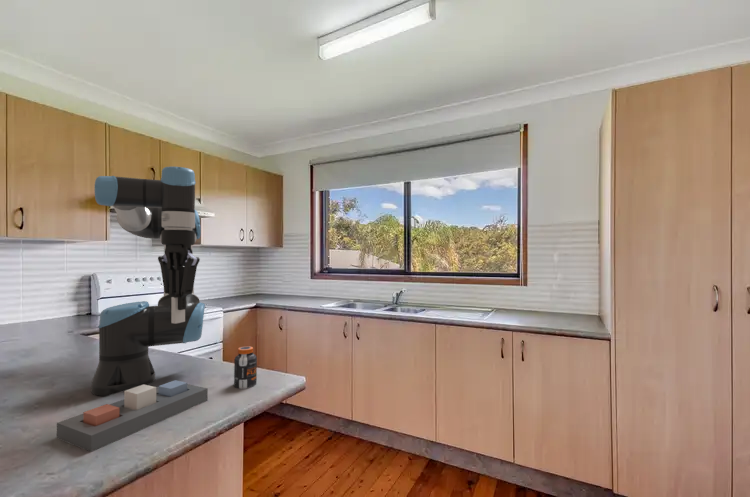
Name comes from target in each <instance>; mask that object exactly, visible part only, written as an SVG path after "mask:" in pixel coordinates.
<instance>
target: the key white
mask: <svg viewBox="0 0 750 497" xmlns="http://www.w3.org/2000/svg"><path fill="white" fill-rule="evenodd" d="M156 388H157V387H156V386H152V385H149V384H147V385H141V386H138V387H135V388H132V389H129V390H126V391H123V392H124V394H123V395H124V396H123V397H124V398H123V399H124V407H125V408H129V409H132V410H135V411H136V410H139V409H141V408H144V407H147V406H149V405H152V404H154V403H156Z"/></svg>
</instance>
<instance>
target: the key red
mask: <svg viewBox="0 0 750 497" xmlns="http://www.w3.org/2000/svg"><path fill="white" fill-rule="evenodd" d="M82 414H83V423H86V424H89V425H91V426H94V427H95V426H98V425H100V424H103V423H105V422H108V421H111V420H113V419H116V418H118V417H119V407H115V406H112V405H109V404H108V403H106V404H103V405H100V406H97V407H94V408H92V409H89V410H86V411H84V412H83V413H82Z"/></svg>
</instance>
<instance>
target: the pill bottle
mask: <svg viewBox="0 0 750 497" xmlns="http://www.w3.org/2000/svg"><path fill="white" fill-rule="evenodd" d="M257 357H258V356H257V355H256V354H254V347H253V346H250V345H249V346H247V345H246V346H240V347H238V349H237V355H235V357H234V363H233V365H234V366H233V368H234V369H233V370H234V371H233V377H234V378H233V382H234V383H233V387H234V388H236V389H239V390H240V389H242V390H243V389H249V388H252V387H255V386H256V385H257V375H258V374H257V372H258V368H257V367H258V360H257V359H258V358H257Z"/></svg>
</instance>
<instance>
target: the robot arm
mask: <svg viewBox="0 0 750 497" xmlns="http://www.w3.org/2000/svg"><path fill="white" fill-rule="evenodd" d="M94 180H95V181H94V199H95V202H96V203H97V205H99V206H105V207H112V208H113V209H114V211H115V213H116V214H117V215H116V221H117V223H118V225H119V226H120V228H122V229H123V230H124V231H126V232H127V233H129V234H131V235H135V236H137V237H141V238H144V239H145V238H146V239H154V240H155V239H158V240H160V243H161V244H162V245H164V254H163V255H159V256H158V257H157V261H158V263H159V266H160V272H161V276H162V277H161V278H162V285H163V296H161V297H160V298H159V300H158V301H157V305H150V303H149V301H145V300H144V301H142V300H141V301H136V302H134V301H133V302H128V303H127V302H126V303H123V304H122V303H121V304H118V305H113V306H109V307H107V308H105V309H103V310H102V311H101V312H100V313H99V314H100V315H99V322H98V323H99V324H98V327H97V328H98V330H99V331H98V342H99V344H98V345H99V346H98V351H99V352H98V354H99V355H98V364H97V368H96V370H95V372H94V375H93V378H92V380H91V384H90V392H91V394H92V395H94V396H104V397H107V396H111V395H114V394H117V393H120V392H124V391H126V390H129V389H132V388H135V387H138V386H141V385H149V384H151V383H153V382H154V381H156V372H155V369H154V366H153V364H152V362H151V358H150V356H149V347H156V346H166V345H167V346H169V345H176V344H177V345H178V344H187V343H193V342H198V341H199V340H200V339H201V338H202V335H203V334H202V333H203V325H204V316H205V306H206V304H205V303H203V302H200V298H199V296H197V295H196V294H195V287H194V286H195V280H196V274H197V270H198V269H197V267H198V265H199V263H200V260H201V258H200V257H199V256H194V254H193V246H194V245H195V244H196V242H197V240H199V239H200V238H201V235H202V234H201V232H202V230H201V229H202V228H201V221H200V215H199V212H198V211H197V210H196V206H195V205H196V183H197V182H196V175H195V171H194V169H191V168H188V167H182V166H165V167H163V168H162V169H161V178H160V179H150V178H149V179H148V178H136V177H126V176H125V177H124V176H115V175H110V176H109V175H99V176H98V177H96V178H95V179H94Z"/></svg>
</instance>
